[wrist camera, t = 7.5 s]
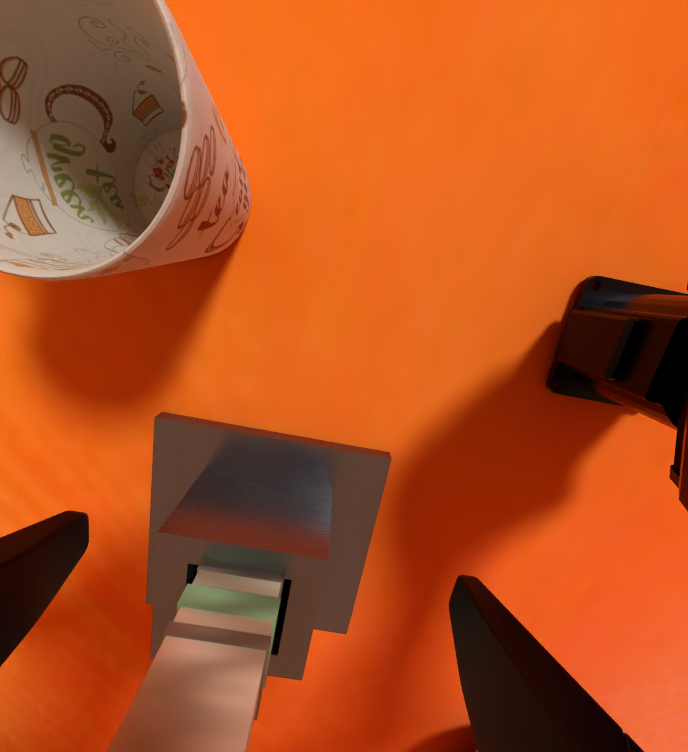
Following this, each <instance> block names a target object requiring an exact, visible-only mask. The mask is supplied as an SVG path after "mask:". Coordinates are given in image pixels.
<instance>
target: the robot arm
mask: <svg viewBox="0 0 688 752" xmlns="http://www.w3.org/2000/svg"><path fill="white" fill-rule="evenodd" d="M593 282H595V283H596V287H595V289H594V290H592V288H591V286H592V284H593ZM687 290H688V285H687ZM557 381H559V385H558V386H556V387H554V384H555V383H556V382H557ZM546 387H547V388H548V390H550V391H552V392H554V393H557V394H562V395H567V396H573V397H578V398H583V399H588V400H594V401H599V402H604V403H609V404H615V405H620V406H625V407H628V408H630V409H632V410H634V411H636V412H638V413H641V414H643V415H645V416H647V417H649V418H651V419H654V420H656V421H658V422H660V423H662V424H664V425H667V426H669V427H671V428H673V429H675V430H677V437H676V447H675V458H674V465H671V466H670V476H669V477H670V479H671V480H672V481H673V482H674V484H675V485H676V486H677V487H678V488H679V500H680V501H681V503H682V504H683V506H684V507H685V508H686V510H687V511H688V294H684V293H679V292H675V291H670V290H665V289H660V288H655V287H650V286H646V285H641V284H636V283H631V282H626V281H621V280H617V279H612V278H607V277H602V276H590V277H588V278H586V279H585V280H584V282H583V283H582V286H581V289H580V291H579V294H578V297H577V299H576V302H575V305H574V308H573V310H572V312H571V313H570V314H569V317H568V319H567V322H566V325H565V328H564V330H563V333H562V336H561V339H560V341H559V344H558V347H557V350H556V352H555V359H554V362H553V365H552V367H551V370H550V373H549V376H548V378H547V381H546ZM88 543H89V519H88V515H87V514H86V513H83V512H77V511H65V512H62V513H60V514H57V515H55V516H52V517H50V518H48V519H45V520H43V521H40V522H38V523H35V524H33V525H30V526H28V527H25V528H23V529H21V530H18V531H16V532H13V533H11V534H8V535H6V536H3V537H1V538H0V667H1V665H2V664H3V663H4V662H5V661H6V659H7V658H8V657H9V656H10V654H11V653H12V652H13V651H14V649H15V648H16V647H17V646H18V645H19V643H20V642H21V641H22V640H23V638H24V637H25V636H26V635H27V633H28V632H29V631H30V630H31V628H32V627H33V626H34V625H35V623H36V622H37V621H38V619H39V618H40V617H41V615H42V614H43V612H44V611H45V610H46V608H47V607H48V605H49V604H50V602H51V601H52V599H53V598H54V597H55V595H56V594H57V592H58V591H59V589H60V588H61V586H62V585H63V583H64V582H65V581H66V579H67V578H68V576H69V575H70V573H71V572H72V570H73V569H74V567H75V566H76V564H77V563H78V562H79V560H80V559H81V557H82V556H83V554H84V553H85V551H86V549H87V546H88ZM449 613H450V619H451V625H452V632H453V638H454V645H455V651H456V657H457V664H458V670H459V676H460V681H461V686H462V691H463V695H464V700H465V704H466V708H467V712H468V716H469V720H470V724H471V728H472V732H473V736H474V740H475V744H476V748H477V752H644V751H643V750H642V749H641V748H640V747H639V746H638V745H637V744H636V743H635V742H634V741H633V740H632V738H631V737H630V736H629V735H628V734H626V733H623V730H622V728H621V727H620V726H619V725H618V724H617V723H616V722H615V721H614V720H613V719H612V718H611V717H610V716H609V715H608V714H607V713H606V712H605V711H604V709H603V708H602V707H601V706H600V705H599V704H598V703H597V702H596V701H595V700H594V699H593V698H592V697H591V696H590V695H589V694H588V693H587V692H586V691H585V690H584V689H583V688H582V687H581V685H580V684H579V683H578V682H577V681H576V680H575V679H574V678H573V677H572V676H571V675H570V674H569V673H568V672H567V671H566V670H565V669H564V668H563V667H562V666H561V665H560V664H559V663H558V662H557V660H556V659H555V658H554V657H553V656H552V655H551V654H550V653H549V652H548V651H547V650H546V649H545V648H544V647H543V646H542V645H541V644H540V643H539V642H538V641H537V640H536V639H535V638H534V636H533V635H532V634H531V633H530V632H529V631H528V630H527V629H526V628H525V627H524V626H523V625H522V624H521V623H520V622H519V621H518V620H517V619H516V618H515V617H514V616H513V615H512V614H511V613H510V611H509V610H508V609H507V608H506V607H505V606H504V605H503V604H502V603H501V602H500V601H499V600H498V599H497V598H496V597H495V596H494V595H493V594H492V593H491V592H490V591H489V590H488V589H487V587H486V586H485V585H484V584H483V583H482V582H481V581H480V580H479V579H478V578H476V577H474V576H468V575H459V576H458V578H457V580H456V583H455V586H454V589H453V592H452V594H451V597H450V601H449Z"/></svg>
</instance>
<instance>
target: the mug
mask: <svg viewBox="0 0 688 752" xmlns="http://www.w3.org/2000/svg"><path fill="white" fill-rule="evenodd" d="M250 206H251V191H250V184H249V179H248V176H247V172H246V170H245V167H244V165H243V162H242V160H241V158H240V156H239V154H238V152H237V150H236V147H235V145H234V143H233V141H232V139H231V137H230V135H229V133H228V131H227V129H226V126H225V124H224V122H223V120H222V118H221V116H220V114H219V112H218V110H217V107H216V105H215V103H214V101H213V99H212V97H211V95H210V93H209V91H208V89H207V86H206V84H205V82H204V80H203V78H202V76H201V74H200V72H199V70H198V67H197V65H196V63H195V61H194V59H193V57H192V55H191V53H190V51H189V49H188V46H187V44H186V42H185V40H184V38H183V36H182V34H181V32H180V30H179V28H178V26H177V24H176V22H175V20H174V18H173V16H172V14H171V12H170V10H169V8H168V6H167V5H166V3H165V1H164V0H0V272H3V273H6V274H10V275H14V276H19V277H24V278H29V279H36V280H46V281H70V280H80V279H90V278H96V277H102V276H107V275H113V274H118V273H123V272H128V271H133V270H139V269H144V268H149V267H154V266H159V265H164V264H170V263H175V262H180V261H185V260H190V259H195V258H201V257H205V256H209V255H213V254H216V253H218V252H220V251H222V250H224V249H225V248H227V247H228V246H230V245H231V244H232V243H233V242H234V241H235V240H236V239H237V238H238V237H239V235H240V234H241V232H242V231H243V229H244V227H245V225H246V222H247V220H248V216H249V212H250Z"/></svg>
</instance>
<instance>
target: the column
mask: <svg viewBox="0 0 688 752" xmlns="http://www.w3.org/2000/svg"><path fill="white" fill-rule="evenodd" d="M283 582H284V579H283V578H277V577H271V576H264V575H258V574H252V573H246V572H239V571H233V570H227V569H221V568H214V567H208V566H202V565H199V566H198V567H197V575H196V577H195V579H194V581H193V583H192V584H187V586H186V588H185V590H184V592H183V593H182V595H181V597H180V599H179V601H178V603H177V614H176V617H175V619H174V621H173V622H172V621H170V622H169V624H168V626H167V628H166V629H165V631H164V634H163V642H162V644H161V646H160V648H159V650H158V652H157V654H156V656H155V658H154V660H153V662H152V664H151V666H150V668H149V670H148V672H147V674H146V676H145V678H144V680H143V682H142V684H141V686H140V688H139V690H138V692H137V694H136V696H135V698H134V700H133V702H132V704H131V706H130V708H129V710H128V712H127V714H126V716H125V717H124V719H123V721H122V723H121V725H120V727H119V729H118V731H117V733H116V735H115V737H114V739H113V741H112V743H111V745H110V747H109V749H108V751H107V752H248V747H249V742H250V738H251V733H252V728H253V723H254V720H257V716H258V711H259V706H260V700H261V695H262V689H263V688H264V687H265V682H266V677H267V672H268V667H269V662H270V656H271V651H272V645H273V640H274V634H275V628H276V623H277V617H278V612H279V606H280V601H281V593H282V588H283Z"/></svg>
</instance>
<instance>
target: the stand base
mask: <svg viewBox="0 0 688 752" xmlns="http://www.w3.org/2000/svg"><path fill="white" fill-rule="evenodd" d="M390 462H391V456H390V453H389V452H383V451H378V450H372V449H367V448H361V447H355V446H350V445H344V444H338V443H333V442H327V441H322V440H316V439H310V438H305V437H299V436H294V435H288V434H282V433H277V432H271V431H265V430H260V429H254V428H249V427H243V426H237V425H232V424H226V423H221V422H215V421H209V420H204V419H198V418H193V417H187V416H181V415H176V414H170V413H164V412H161V413H160V414H158V415H157V416H156V417H155V422H154V444H153V466H152V487H151V509H150V531H149V553H148V574H147V596H146V603H147V604H153V621H152V640H151V658H152V659H154V658H155V656H156V654H157V652H158V650H159V648H160V646H161V644H162V642H163V634H164V631H165V629H166V628H167V626H168V624H169V622H170V621H172V622H173V621H174V619H175V617H176V614H177V603H178V601H179V599H180V597H181V595H182V593H183V592H184V590H185V588H186V586H187V584H192V583H193V581H194V579H195V577H196V575H197V567H198V566H199V565H202V566H208V567H214V568H221V569H227V570H233V571H239V572H246V573H252V574H258V575H264V576H271V577H277V578H283V579H284V582H283V588H282V593H281V601H280V606H279V612H278V617H277V623H276V628H275V634H274V640H273V645H272V651H271V656H270V662H269V667H268V672H267V675H268V676H275V677H282V678H289V679H296V680H302V677H303V673H304V668H305V664H306V659H307V654H308V650H309V645H310V641H311V636H312V632H313V629H316V630H322V631H329V632H335V633H342V634H347V630H348V626H349V622H350V618H351V615H352V611H353V607H354V603H355V599H356V595H357V591H358V587H359V583H360V579H361V575H362V572H363V568H364V564H365V560H366V556H367V552H368V548H369V544H370V540H371V536H372V532H373V529H374V525H375V521H376V517H377V513H378V509H379V505H380V501H381V497H382V493H383V490H384V486H385V482H386V478H387V474H388V470H389V466H390Z"/></svg>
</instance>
